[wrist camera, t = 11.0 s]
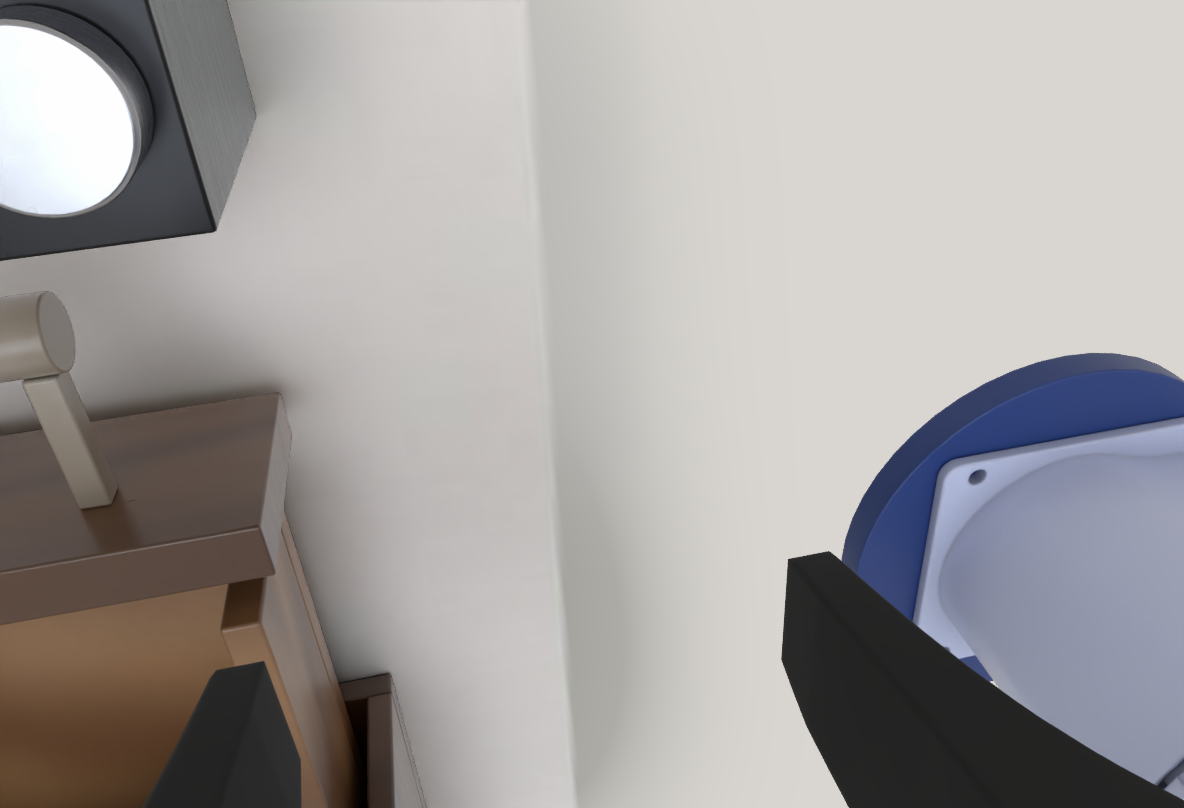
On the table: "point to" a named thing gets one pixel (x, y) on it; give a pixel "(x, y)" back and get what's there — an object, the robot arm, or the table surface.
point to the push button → (117, 121)
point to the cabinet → (383, 743)
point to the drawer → (145, 585)
